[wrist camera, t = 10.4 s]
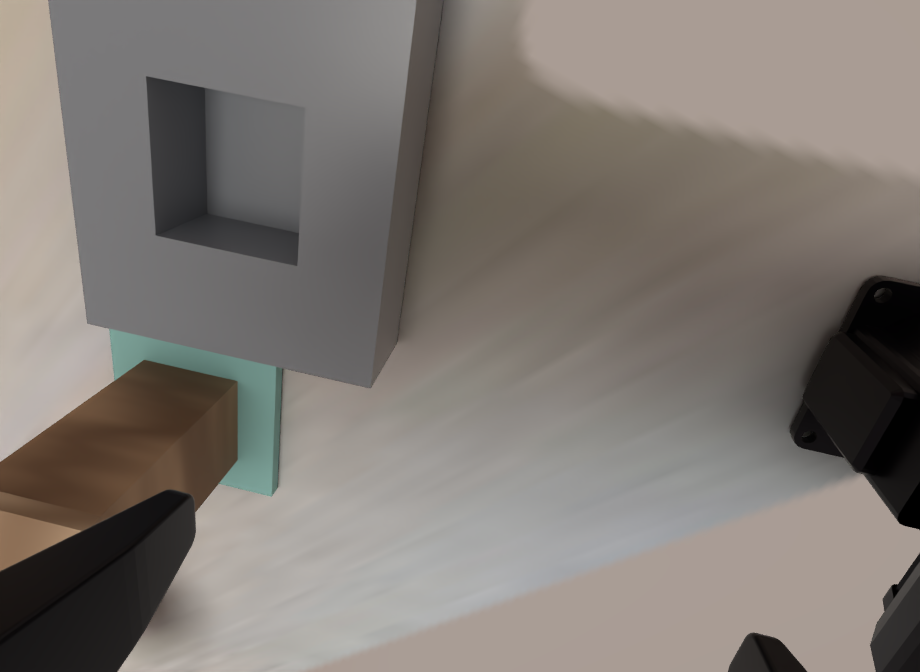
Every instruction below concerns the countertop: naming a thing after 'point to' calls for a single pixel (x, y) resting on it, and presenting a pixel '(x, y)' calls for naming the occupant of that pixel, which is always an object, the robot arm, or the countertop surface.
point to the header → (248, 171)
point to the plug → (118, 455)
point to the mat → (254, 401)
